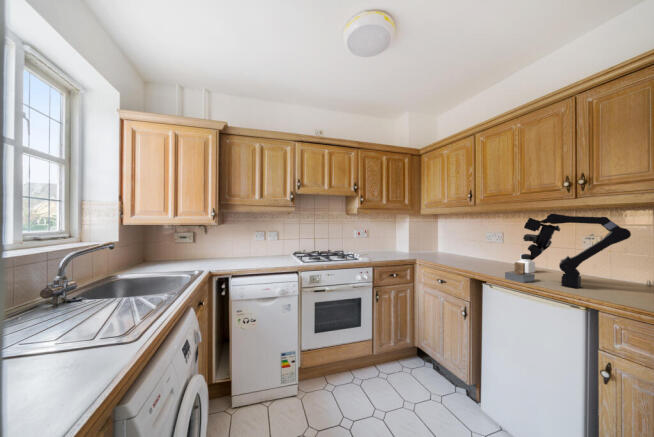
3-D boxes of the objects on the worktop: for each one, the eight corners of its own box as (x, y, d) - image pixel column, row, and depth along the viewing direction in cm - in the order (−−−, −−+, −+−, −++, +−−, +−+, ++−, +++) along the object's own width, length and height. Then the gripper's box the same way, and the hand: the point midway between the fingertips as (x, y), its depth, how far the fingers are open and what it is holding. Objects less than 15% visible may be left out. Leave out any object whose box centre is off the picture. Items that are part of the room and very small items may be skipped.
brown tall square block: (524, 280, 146) (524, 263, 146) (522, 281, 144) (523, 263, 144) (516, 278, 149) (516, 262, 149) (514, 279, 147) (514, 262, 147)
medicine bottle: (535, 272, 167) (535, 254, 167) (528, 273, 165) (528, 255, 165) (523, 270, 174) (523, 253, 174) (516, 271, 171) (516, 253, 171)
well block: (534, 281, 144) (534, 274, 144) (523, 282, 140) (523, 275, 140) (515, 277, 153) (515, 270, 153) (505, 278, 149) (505, 272, 149)
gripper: (534, 224, 151) (524, 246, 158) (522, 232, 141) (512, 255, 148) (557, 232, 143) (545, 255, 150) (546, 241, 133) (534, 265, 140)
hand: (533, 257), depth 148 cm, fingers open, 9 cm apart
